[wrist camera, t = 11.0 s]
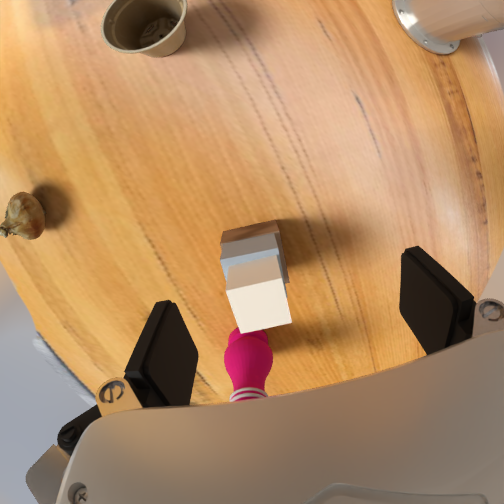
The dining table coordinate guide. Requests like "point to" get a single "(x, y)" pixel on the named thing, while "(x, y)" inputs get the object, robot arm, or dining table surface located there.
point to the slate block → (250, 252)
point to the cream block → (257, 294)
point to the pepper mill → (248, 363)
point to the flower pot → (145, 26)
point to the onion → (23, 217)
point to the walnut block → (257, 231)
